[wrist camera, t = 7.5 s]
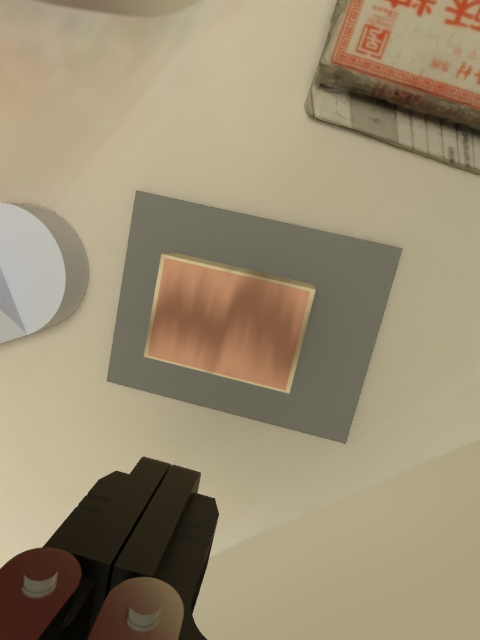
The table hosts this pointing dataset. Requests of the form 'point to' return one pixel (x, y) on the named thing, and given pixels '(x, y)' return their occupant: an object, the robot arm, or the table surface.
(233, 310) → the birch tile
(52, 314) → the wedge on round base
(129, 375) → the mat
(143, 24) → the table surface
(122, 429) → the table surface
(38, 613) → the robot arm
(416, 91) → the packaged product
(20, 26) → the table surface
